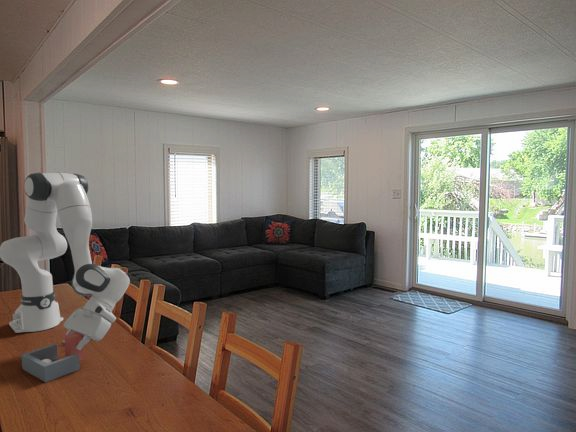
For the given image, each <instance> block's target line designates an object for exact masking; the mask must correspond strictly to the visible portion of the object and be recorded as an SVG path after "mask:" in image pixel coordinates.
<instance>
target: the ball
mask: <svg viewBox="0 0 576 432" xmlns="http://www.w3.org/2000/svg"><path fill="white" fill-rule="evenodd" d="M42 361H43V362H45V363H47V364H48V363H51V362H53V360H52V361H51V360H49V359H43V360H42Z"/></svg>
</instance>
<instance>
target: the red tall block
mask: <svg viewBox="0 0 576 432" xmlns="http://www.w3.org/2000/svg"><path fill="white" fill-rule="evenodd" d="M63 338H64V339H63V340H64V342H65V343H64V352H65V354H64V355H65V357H68V356H71V355H73V354H76V353H77V354H79V362H82V361H83V360H84V347H83V348H82V349H81V350H78V349H76V348H75V345H76V344H77V343H79V342H80V341H81V340H82V334H80V333H77V332H74V333H71V334H68V335H66V334H65V335H63Z"/></svg>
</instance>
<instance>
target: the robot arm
mask: <svg viewBox="0 0 576 432" xmlns="http://www.w3.org/2000/svg"><path fill="white" fill-rule="evenodd" d="M23 186H24V187H23V188H24V191H25V195H26V196H27V202H26V207H25V213H24V218H23V221H24V224H25V226H26V227H28V228H29V229H30V230H32V231H35V232H34V235H28V236H27V235H26V236H20V237H19V236H18V237H13V238H10V239H7V240H5V241H3V242H1V244H0V260H1V261H2V262H3V263H5V264H6V265H8V266H10V267H11V268H13V269H14V270H15V271H16V272H17V274H18V277H19V278H20V283H21V289H22V290H21V291H22V292H21V293H22V294H21V296H20V297H21V298H20V305H19V307H18V308H16V310H15V311H14V313H13V314H12V316H11V317H12V320H11V321H9V323H8V325H9V326H10V328H11V329H12V330H13V331H14V333H15V334H17V333H18V334H19V333H28V332H29V333H31V332H32V333H33V332H40V331H41V332H42V331H46V330H49V329H51V328H52V329H53V328H55V327H57V326H59V324H60V323H61V322H62V321H64V317H63V316H61V312H60V307H59V302H58V301H56V294H55V291H54V283H53V275H52V273H51V272H50V271H49V270H47V269H43V268H40V266H39V263H38V262H40V261H48V260H52V259H55V258H59V257H61V256H63V255H64V254H65V253H66V251H67V249H68V245H69V248H70V254H71V259H72V264H73V269H74V270H73V276H72V280H71V287H72V289H73V292H74V293H75V294H77V295H78V296H81V297H90V298H89V299H88V300H87V301H86V303H85V305H84V306H81V307H78V308H77V309H75V310H74V311H73V312H72V313H71V314H70V315H69V317H68V318H67V319H66V320H65V321H64V323H63V328H65V329H67V331H66V334H65V335H68V334H71V333H74V332H77V333H80V334H82V335H83V336H84V337H83V340H81V341H80V342H79V343H77V344H76V345H75V348H76V349H78V350H81V349H82V348H83V349H84V346H86V345H87V344H88V343H90V341H91V340H93V341H96V342H100V341H102V339H104V337H105V336H106V334H107V333H108V332H109V330H110V328H111V326H112V324H113V323H114V322H115V321H116V320H117V317H116V316H115V314H114V313H113V310H114V309H115V305H116V304H117V302H119V301H121V299H122V297H123V296H124V295H125V293H126V291H127V290H128V288H129V286H130V283H131V280H130V276H129V275H128V274H127V273H126V272H125V271H124V270H123V269H122V268H119V267H104V266H101V265H98V264H94V263H93V261H92V255H91V251H90V246H89V244H90V236H91V232H92V227H93V212H92V208H91V204H90V200H89V197H88V192H89V183H88V180H87V179H86V176H84V175H82V174H79V173H67V172H43V173H42V172H34V173H30V174H29V175H28V176H26V178H25V180H24V185H23ZM57 217H58V219H59V222H60V226H61V228H62V230H63V233H64V235H65V237H64V235H62V234H61V233H60V232H58V230H57ZM62 343H63V344H65V342H64V339H63V340H62Z"/></svg>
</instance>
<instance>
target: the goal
mask: <svg viewBox="0 0 576 432" xmlns="http://www.w3.org/2000/svg"><path fill="white" fill-rule="evenodd" d="M20 355H21V367H22V370H23V371H25V372H26V373H28V374H30V375H32V376H34V377H35V378H37V379H39V380H41V381H43V382H44V383H48V382H51V381H53V380H56V379H58V378H61V377H64V376H66V375H68V374H71V373H74V372H76V371H79V370H80V369H81V368H80V367H81V366H80V361H79V354H77V353H76V354H73V355H71V356H68V357H66V356H65V357H63V358H60V359H59V357H58V344H56V343H53V344H49V345H46V346H44V347H40V348H37V349H34V350H31V351H28V352H25V353H22V354H20ZM43 359H49V360H51V361H52V362H51V363H48V364H47V363H45V362H43V361H42V360H43ZM54 360H55V361H54Z"/></svg>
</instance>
